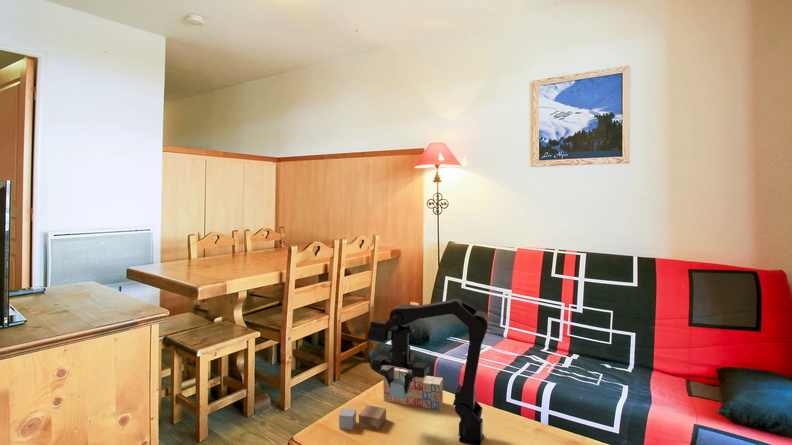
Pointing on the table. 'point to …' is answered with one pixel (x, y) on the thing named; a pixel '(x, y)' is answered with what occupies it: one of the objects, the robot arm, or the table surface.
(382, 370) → the robot arm
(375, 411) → the walnut block
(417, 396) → the stack of blocks
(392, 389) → the teal cube
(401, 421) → the table surface
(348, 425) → the light grey cube
